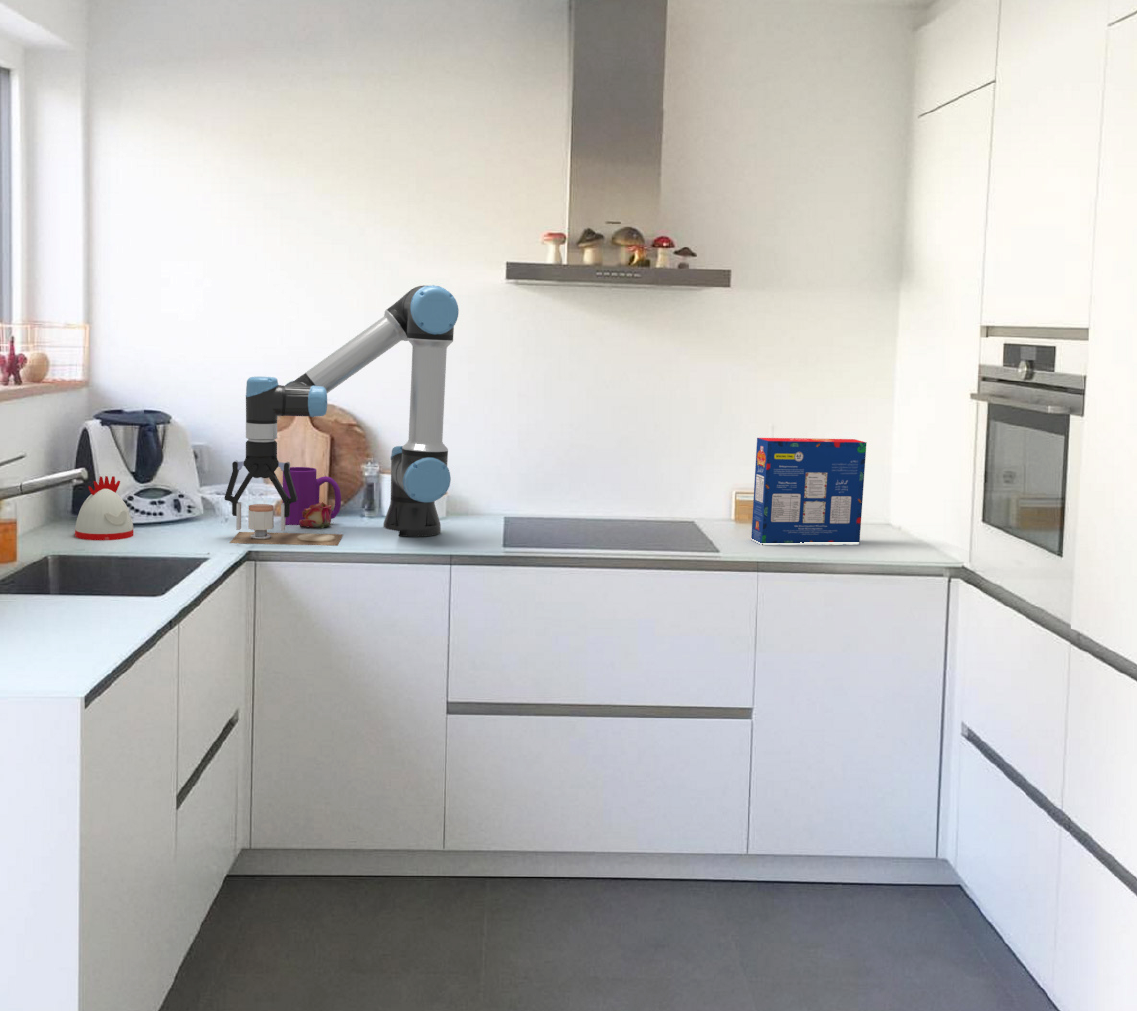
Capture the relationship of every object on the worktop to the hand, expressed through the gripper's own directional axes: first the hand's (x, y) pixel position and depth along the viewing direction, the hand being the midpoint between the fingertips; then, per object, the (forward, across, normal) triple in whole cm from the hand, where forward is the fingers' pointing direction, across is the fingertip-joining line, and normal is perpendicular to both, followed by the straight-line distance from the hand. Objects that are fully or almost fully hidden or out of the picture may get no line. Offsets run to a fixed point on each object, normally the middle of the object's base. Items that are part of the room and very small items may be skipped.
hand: (260, 529), depth 346 cm
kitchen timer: (+4, +40, -7) cm, 40 cm away
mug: (+4, -9, -31) cm, 33 cm away
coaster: (+2, -14, 0) cm, 14 cm away
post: (+2, 0, 0) cm, 2 cm away
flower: (+4, -12, -19) cm, 23 cm away
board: (+4, -6, 0) cm, 7 cm away
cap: (0, 0, 0) cm, 0 cm away
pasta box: (+4, -142, -20) cm, 144 cm away
